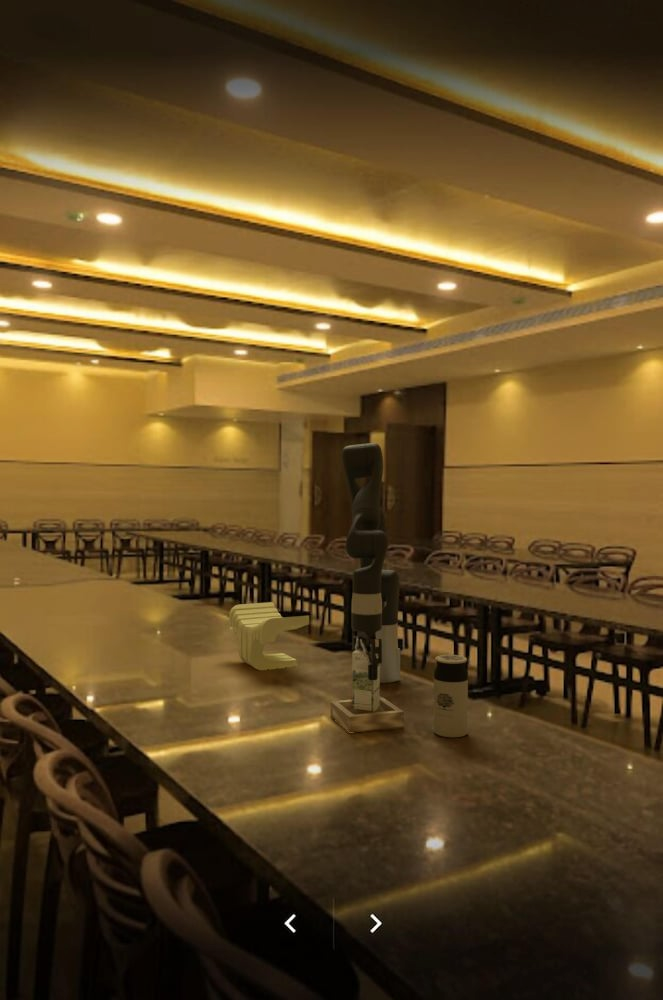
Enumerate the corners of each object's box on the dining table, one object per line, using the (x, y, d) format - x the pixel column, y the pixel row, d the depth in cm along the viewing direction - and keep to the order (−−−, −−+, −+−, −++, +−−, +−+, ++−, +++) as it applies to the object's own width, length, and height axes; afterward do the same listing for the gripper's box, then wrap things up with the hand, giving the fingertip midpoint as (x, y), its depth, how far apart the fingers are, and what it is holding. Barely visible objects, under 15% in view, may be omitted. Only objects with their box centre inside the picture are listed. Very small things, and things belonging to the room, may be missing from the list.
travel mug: (447, 725, 195) (447, 652, 195) (474, 733, 189) (474, 658, 189) (426, 733, 190) (427, 657, 189) (453, 740, 184) (454, 663, 183)
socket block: (381, 712, 206) (381, 696, 206) (403, 728, 193) (403, 711, 193) (330, 717, 202) (330, 701, 202) (349, 733, 189) (349, 717, 189)
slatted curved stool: (228, 657, 269) (228, 605, 269) (272, 653, 276) (272, 602, 276) (261, 677, 242) (261, 619, 242) (308, 672, 249) (309, 615, 249)
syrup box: (380, 706, 199) (380, 648, 199) (373, 712, 194) (374, 653, 193) (358, 704, 201) (358, 647, 201) (351, 710, 196) (351, 651, 195)
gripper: (392, 614, 191) (391, 681, 192) (370, 605, 205) (369, 668, 205) (362, 616, 189) (362, 684, 189) (342, 607, 202) (342, 670, 203)
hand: (366, 675), depth 197 cm, fingers closed on syrup box, 8 cm apart
